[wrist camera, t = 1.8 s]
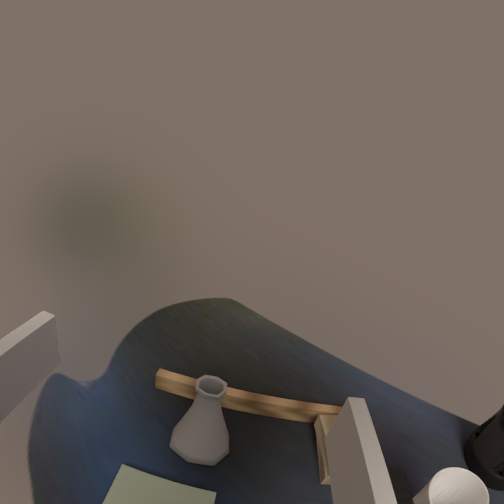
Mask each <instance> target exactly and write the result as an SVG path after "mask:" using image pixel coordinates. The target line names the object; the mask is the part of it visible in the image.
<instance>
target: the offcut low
mask: <svg viewBox="0 0 504 504" xmlns="http://www.w3.org/2000/svg"><path fill="white" fill-rule="evenodd" d="M316 440H317V450H318V461H319V472H320V484H331V482H330V477H328V476H327V472H326V468H325V464H324V461H323V457H322V453H321V450H320V446H319V442H318V438H317V435H316Z"/></svg>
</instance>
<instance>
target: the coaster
mask: <svg viewBox="0 0 504 504" xmlns="http://www.w3.org/2000/svg"><path fill="white" fill-rule="evenodd" d="M215 497H216V492H212V491H207V490H203V489H199V488H195V487H191V486H187V485H183V484H180V483H176V482H173V481H170V480H166V479H163V478H160V477H157V476H154V475H151V474H148V473H145V472H142V471H139V470H137V469H134V468H131V467H129V466H126V465H124V464H122V466H121V468H120V470H119V472H118V474H117V476H116V478H115V480H114V482H113V484H112V486H111V488H110V490H109V492H108V494H107V496H106V498H105V500H104V502H103V504H214V502H215Z"/></svg>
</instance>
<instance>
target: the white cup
mask: <svg viewBox="0 0 504 504" xmlns="http://www.w3.org/2000/svg"><path fill="white" fill-rule="evenodd" d="M412 500H413V503H414V504H489V494H488V491H487V488H486V486H485V484H484V483H483V481H482V480H481V479H480V478H479V477H478V476H477V475H475V474H474V473H473V472H471V471H469V470H466V469H464V468H459V467H449V468H445V469H442V470H440V471H439V472H437V473H436V474H435V475H434V476H433V478H432V479H431V480H430V481H429V482H428V483H427V484H426V485H425V486H424V487H423V488H422V489H421V490H420V492H419V493H418V494H417V495H416V496H415V497H414V498H413V499H412Z"/></svg>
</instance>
